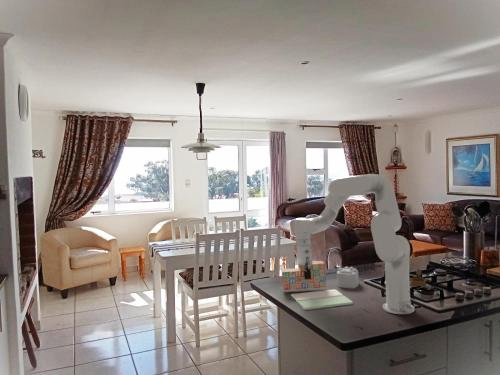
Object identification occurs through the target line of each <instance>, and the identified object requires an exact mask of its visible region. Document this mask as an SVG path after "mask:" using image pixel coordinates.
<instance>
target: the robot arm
mask: <svg viewBox="0 0 500 375" xmlns="http://www.w3.org/2000/svg"><path fill="white" fill-rule="evenodd" d="M328 190H329V192H328V194H327V195H326V196H325V197H324V199H323V203H324V205H325V207H324V209H323V210H322V212H321V213H320V214H319V215H318V216H315V217H311V218H308V217H297V218H295V219H294V222H293V224H294V239H295V246H296V247H297V248H296V251H297V253H296V254H297V262H298V264H299V263H300V264H302V265H303V266H304V269H305V271H304V275H305V279H311V265H312V264H313V262H312V261H313V254H312V248H311V246H312V244H311V235H314V234H317V233H320V232H324V231H326V230H327V229H328V228H330V226H331V225H332V224H333V222H334V221H335V220H336V219H337V217H338V214H339V211H340V209H341V208H342V207H343V205H344V204H345V203H346V202H347V201H348V199H350V197H355V196H365V195H370V194H373V195H375V206H376V209H377V210H376V211H377V213H376V214H375V215H374V216H373V217H372V219H371V221H370V232H371V235H372V241H373V244H374V249H375V252H376V255H377V257H378V258H379V259H380V260H381V261H383V262H384V264H385V265H384V268H385V269H384V272H385V276H384V277H385V278H384V280H385V299H386V300H385V301H386V302H385V303H383V304H382V309H383V311H385V312H386V313H390V314H394V315H411V314H413V313H414V312H415V307H414V305H413V304H412V301H411V290H410V288H411V285H410V283H411V282H410V255H411V246H410V242H409V241H408V239H407V238H406V237H404V236H403V235H400V234H399V235H398V234H396V232H397V231H400V229H401V227H402V225H403V224H402V222H403V221H402V218H401V213H400V210H399V204H398V201H397V196H396V192H395V190H394V186H393V184H392V182H391V181H390V179H388V178H387V177H386V176H384V175H381V174H376V173H367V174H359V175H351V176H341V177H336V178H333V179H332V180H331V181H330V183H329V185H328ZM305 264H307V265H305ZM306 266H308V267H307V268H306Z"/></svg>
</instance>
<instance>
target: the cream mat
mask: <svg viewBox="0 0 500 375" xmlns="http://www.w3.org/2000/svg"><path fill="white" fill-rule="evenodd" d="M290 296H292V297H293V298H294V299H295V300H296V301H295V300H294V299H293V298H292V297H291V298H292V299H293V300H294V301H295V302H296V303H298V301H305V300H313V299H321V298H329V297H338V296H344V295H343V294H342V293H341V292H340V291H338V290H337V289H334V288H333V289H326V290H325V289H324V290H317V291H309V292H307V291H306V292H301V293H291V294H290Z"/></svg>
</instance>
